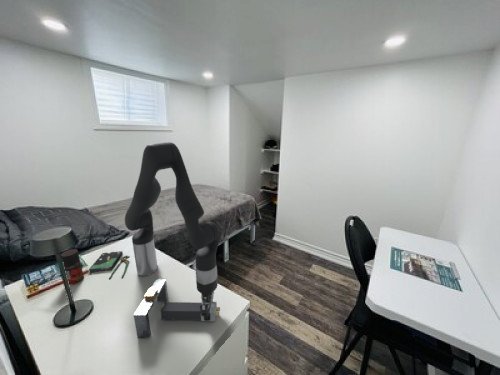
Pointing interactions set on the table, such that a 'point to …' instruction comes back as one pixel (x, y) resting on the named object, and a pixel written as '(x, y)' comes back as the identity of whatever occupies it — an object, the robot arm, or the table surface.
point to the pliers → (120, 264)
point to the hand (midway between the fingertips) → (208, 313)
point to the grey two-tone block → (187, 311)
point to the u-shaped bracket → (149, 307)
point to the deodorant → (72, 266)
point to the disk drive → (106, 262)
